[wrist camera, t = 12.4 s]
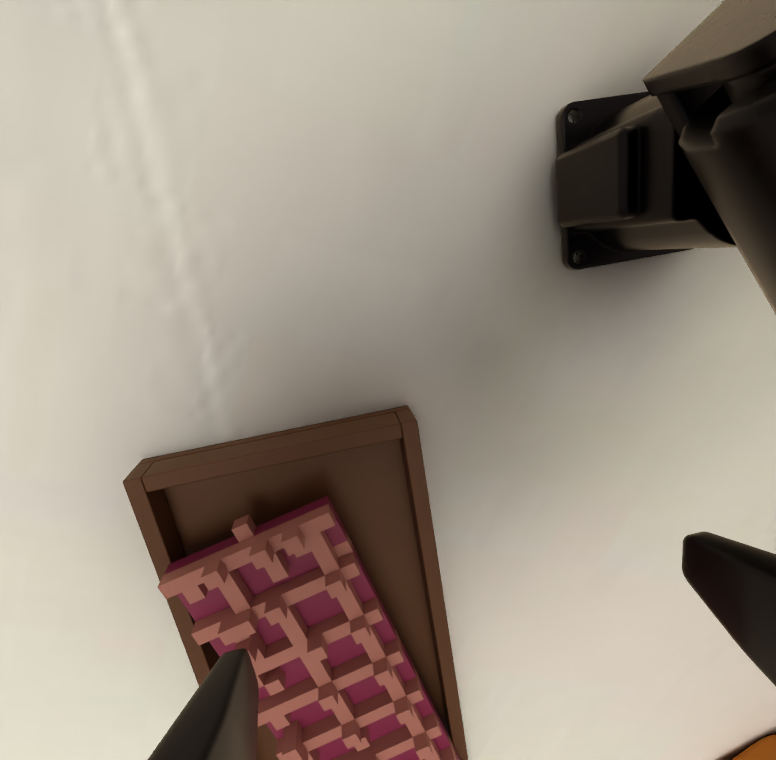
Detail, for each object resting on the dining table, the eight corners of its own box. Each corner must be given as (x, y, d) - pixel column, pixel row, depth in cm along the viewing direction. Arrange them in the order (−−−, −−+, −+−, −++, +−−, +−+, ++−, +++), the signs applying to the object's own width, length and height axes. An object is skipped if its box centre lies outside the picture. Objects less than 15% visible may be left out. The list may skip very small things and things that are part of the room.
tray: (407, 405, 20) (417, 419, 18) (463, 764, 27) (474, 803, 25) (141, 459, 19) (121, 481, 17) (270, 821, 26) (266, 866, 24)
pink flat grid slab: (321, 482, 18) (322, 508, 16) (462, 763, 24) (474, 805, 22) (160, 552, 18) (142, 586, 16) (341, 819, 24) (343, 867, 22)
